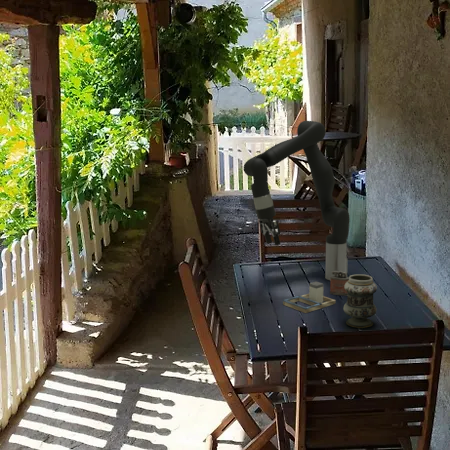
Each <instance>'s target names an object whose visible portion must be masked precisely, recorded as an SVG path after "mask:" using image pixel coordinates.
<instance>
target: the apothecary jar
mask: <svg viewBox="0 0 450 450" xmlns="http://www.w3.org/2000/svg"><path fill="white" fill-rule="evenodd" d="M348 277H349V280H348V282H346V283H345V286H344V288H345V290H346V291H347V295H346V297H347V300H346V302H345V304H344V305H343V307H342V308H343V312H344V313H345V314H346V315H347V316H349V317H351V318H348V319H346V325H348V326H350V327H352V328H357V329H366V328H370V327H372V326H373V325H374V322H373V320H371V319H370V318H371V317H373V316H374V315H375V314H376V313H377V310H378V309H377V307H376V304H374V293H376V292H377V290H378V286H377V284H376V283H375V282H374V280H373V277H372V276H371V275H368V274H363V273H362V274H352V275H351V274H350V275H349V276H348Z"/></svg>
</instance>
